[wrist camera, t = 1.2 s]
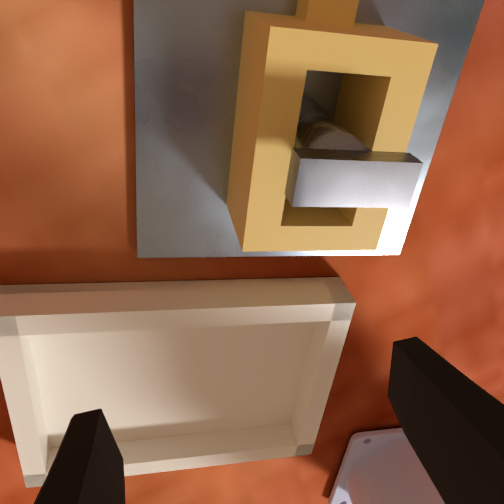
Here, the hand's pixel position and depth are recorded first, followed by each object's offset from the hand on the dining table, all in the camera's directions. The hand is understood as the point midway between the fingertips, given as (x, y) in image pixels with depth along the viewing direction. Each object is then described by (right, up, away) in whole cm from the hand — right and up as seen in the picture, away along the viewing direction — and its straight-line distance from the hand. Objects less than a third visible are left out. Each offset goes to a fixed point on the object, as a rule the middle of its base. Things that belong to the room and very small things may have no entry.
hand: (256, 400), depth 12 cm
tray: (-4, -2, +12) cm, 13 cm away
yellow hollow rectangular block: (+2, +9, +6) cm, 11 cm away
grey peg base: (+2, +9, +6) cm, 11 cm away
